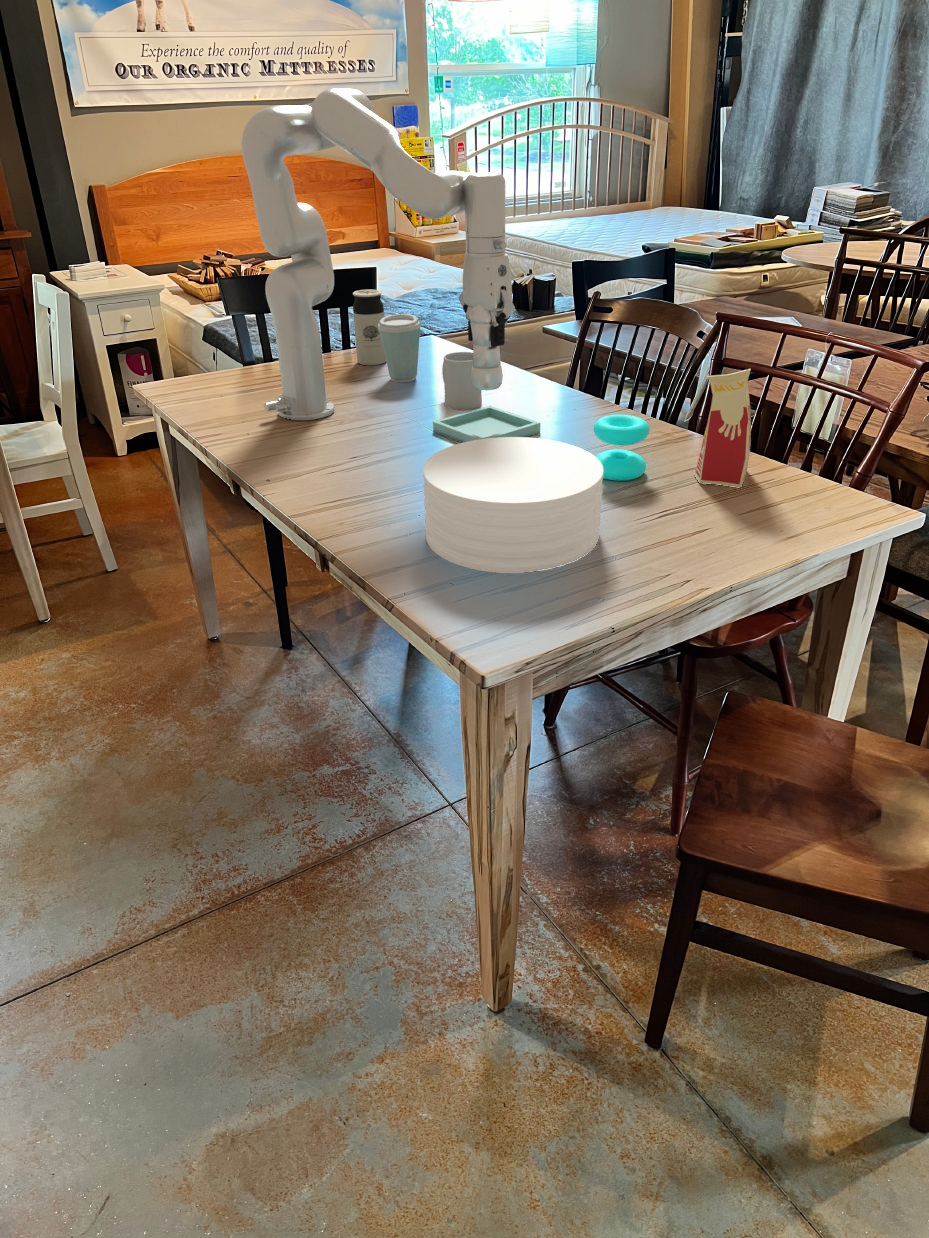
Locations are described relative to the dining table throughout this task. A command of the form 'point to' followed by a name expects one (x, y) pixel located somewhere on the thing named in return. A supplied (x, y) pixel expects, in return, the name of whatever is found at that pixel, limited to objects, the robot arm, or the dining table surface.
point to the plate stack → (512, 503)
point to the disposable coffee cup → (400, 345)
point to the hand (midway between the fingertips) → (486, 342)
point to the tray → (485, 425)
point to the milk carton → (726, 432)
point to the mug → (460, 382)
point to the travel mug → (368, 327)
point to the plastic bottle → (484, 351)
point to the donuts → (621, 433)
